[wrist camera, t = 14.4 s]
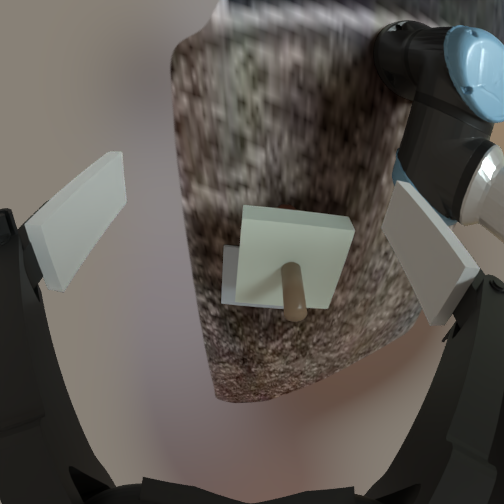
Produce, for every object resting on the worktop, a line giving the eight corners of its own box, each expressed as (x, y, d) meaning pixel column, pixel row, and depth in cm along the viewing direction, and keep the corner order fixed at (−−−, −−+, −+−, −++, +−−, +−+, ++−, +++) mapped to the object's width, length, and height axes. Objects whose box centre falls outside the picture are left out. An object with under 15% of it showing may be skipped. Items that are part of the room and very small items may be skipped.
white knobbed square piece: (348, 216, 44) (373, 271, 34) (324, 293, 54) (335, 351, 43) (243, 204, 44) (237, 259, 33) (236, 285, 53) (230, 345, 43)
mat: (304, 252, 63) (305, 254, 63) (290, 307, 73) (290, 309, 73) (223, 244, 63) (223, 246, 62) (221, 301, 73) (221, 303, 72)
